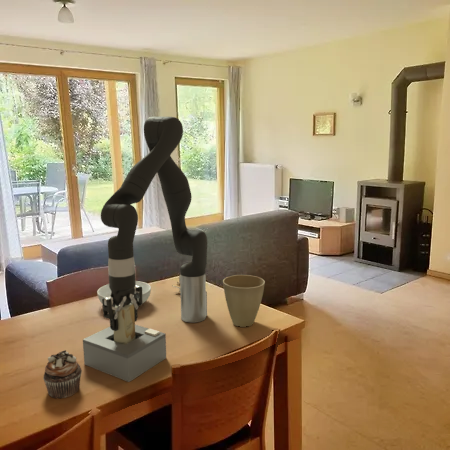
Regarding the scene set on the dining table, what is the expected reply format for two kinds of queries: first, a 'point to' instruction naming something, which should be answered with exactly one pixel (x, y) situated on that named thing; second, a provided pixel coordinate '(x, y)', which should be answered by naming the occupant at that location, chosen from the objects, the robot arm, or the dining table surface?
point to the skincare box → (125, 325)
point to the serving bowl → (146, 289)
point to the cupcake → (62, 375)
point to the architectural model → (177, 284)
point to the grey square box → (125, 352)
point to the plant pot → (243, 298)
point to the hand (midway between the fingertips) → (124, 325)
